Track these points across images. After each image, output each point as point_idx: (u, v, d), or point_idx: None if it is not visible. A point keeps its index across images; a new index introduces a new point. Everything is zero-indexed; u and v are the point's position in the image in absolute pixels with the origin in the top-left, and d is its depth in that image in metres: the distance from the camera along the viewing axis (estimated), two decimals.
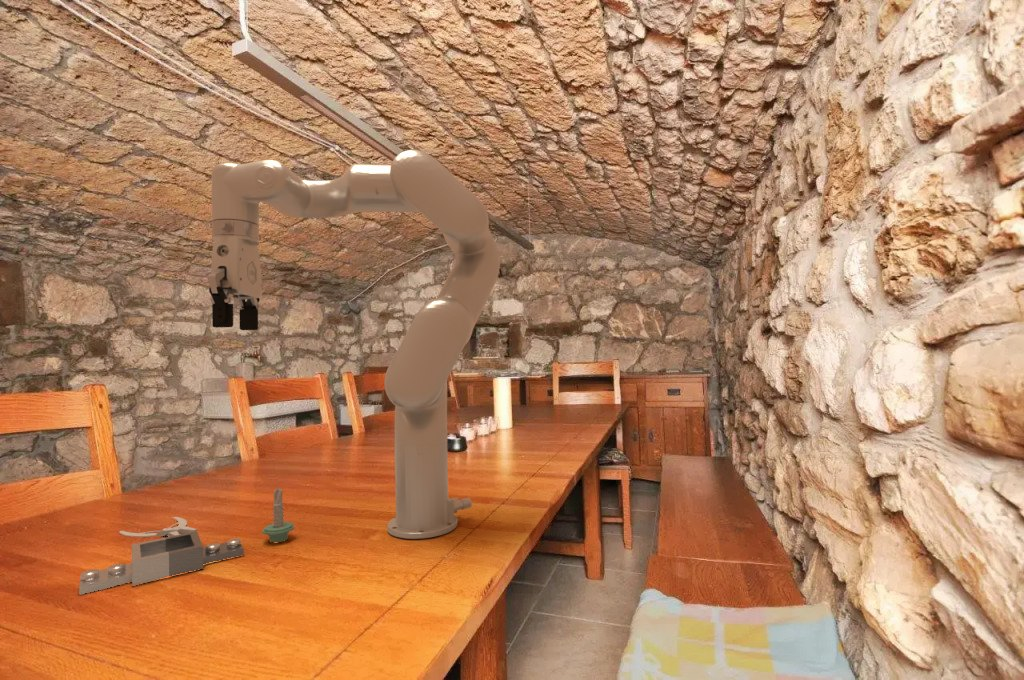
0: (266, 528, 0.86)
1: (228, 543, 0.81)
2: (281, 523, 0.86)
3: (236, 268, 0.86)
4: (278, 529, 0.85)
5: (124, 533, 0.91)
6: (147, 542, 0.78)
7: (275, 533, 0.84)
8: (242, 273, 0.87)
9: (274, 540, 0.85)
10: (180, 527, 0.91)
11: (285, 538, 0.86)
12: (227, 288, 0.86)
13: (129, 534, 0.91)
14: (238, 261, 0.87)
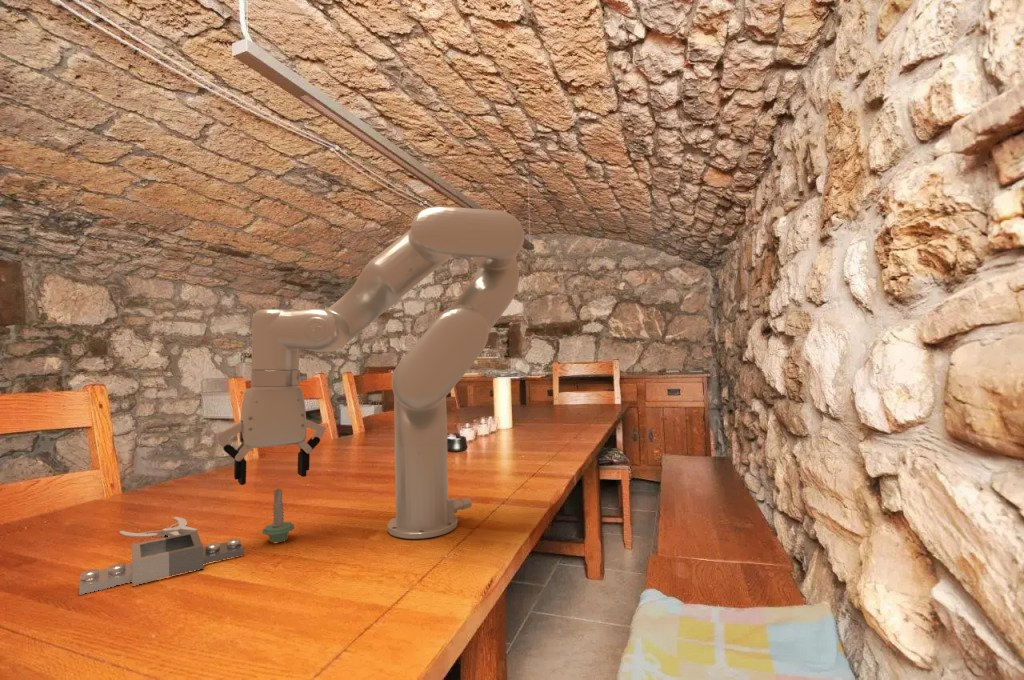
0: (266, 528, 0.86)
1: (228, 543, 0.81)
2: (281, 523, 0.86)
3: None
4: (278, 529, 0.85)
5: (124, 533, 0.91)
6: (147, 542, 0.78)
7: (275, 533, 0.84)
8: None
9: (274, 540, 0.85)
10: (180, 527, 0.91)
11: (285, 538, 0.86)
12: None
13: (129, 534, 0.91)
14: None
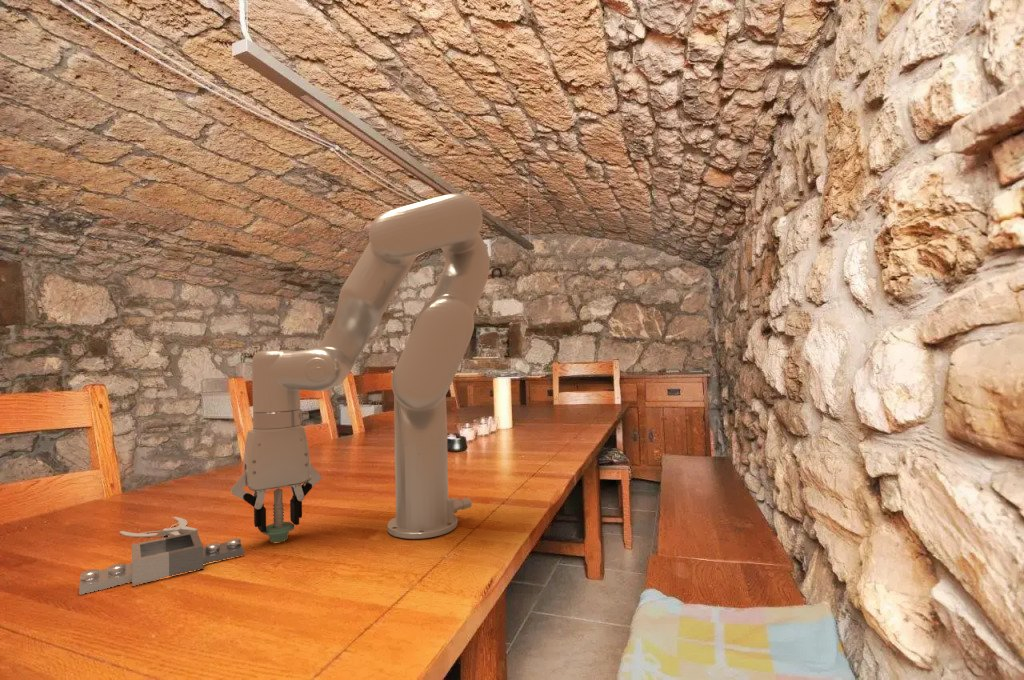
0: (266, 528, 0.86)
1: (228, 543, 0.81)
2: (281, 523, 0.86)
3: None
4: (278, 529, 0.85)
5: (124, 533, 0.91)
6: (147, 542, 0.78)
7: (275, 533, 0.84)
8: None
9: (274, 540, 0.85)
10: (181, 527, 0.91)
11: (285, 538, 0.86)
12: None
13: (129, 534, 0.91)
14: None
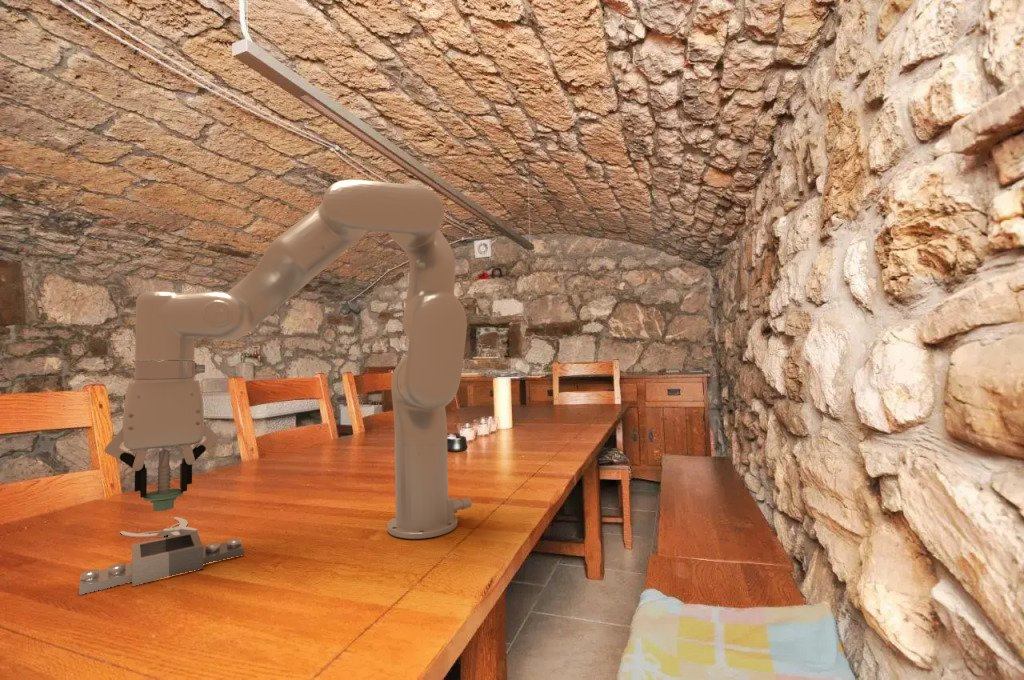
0: (148, 494, 0.75)
1: (228, 543, 0.81)
2: (166, 488, 0.76)
3: None
4: (161, 495, 0.75)
5: (125, 533, 0.91)
6: (147, 542, 0.78)
7: (156, 499, 0.74)
8: None
9: (156, 507, 0.75)
10: (181, 527, 0.91)
11: (170, 506, 0.76)
12: None
13: (130, 534, 0.91)
14: None
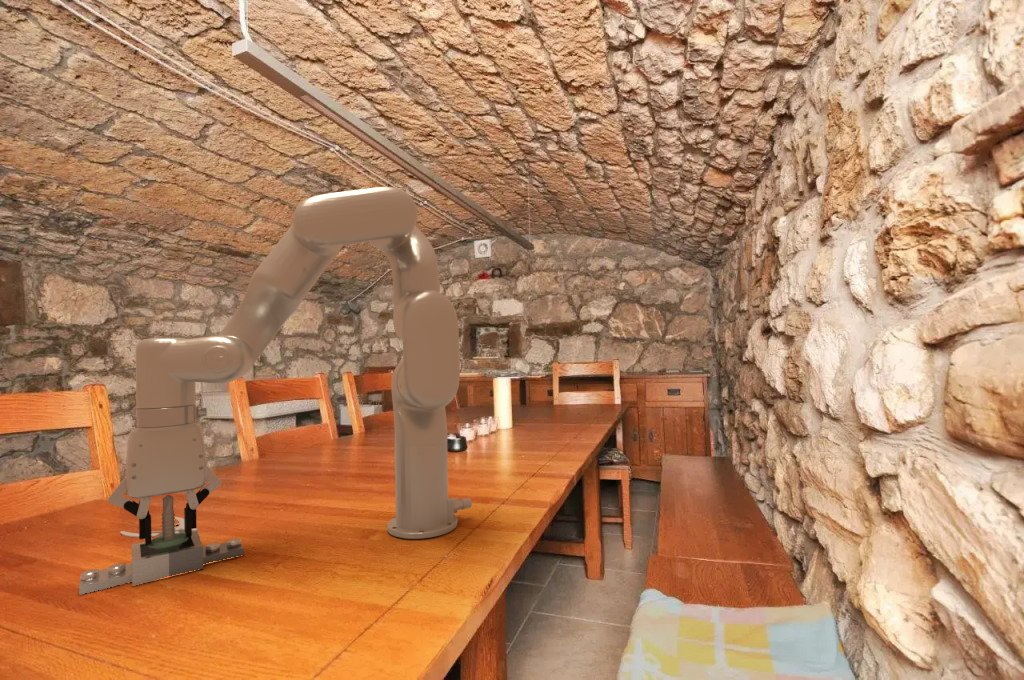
0: (153, 540, 0.75)
1: (228, 543, 0.81)
2: (171, 535, 0.76)
3: None
4: (165, 542, 0.75)
5: (125, 533, 0.91)
6: None
7: (161, 546, 0.74)
8: None
9: None
10: (181, 527, 0.91)
11: None
12: None
13: (130, 534, 0.91)
14: None
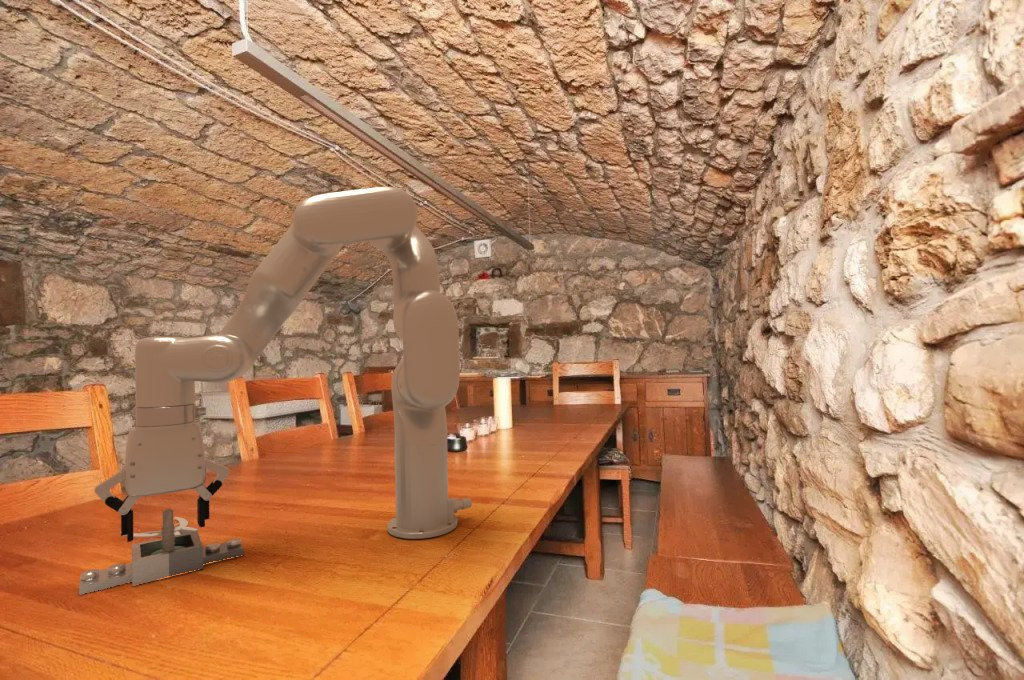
0: (153, 554, 0.75)
1: (228, 543, 0.81)
2: (171, 548, 0.76)
3: None
4: None
5: None
6: (147, 542, 0.78)
7: None
8: None
9: None
10: (181, 527, 0.91)
11: None
12: None
13: None
14: None
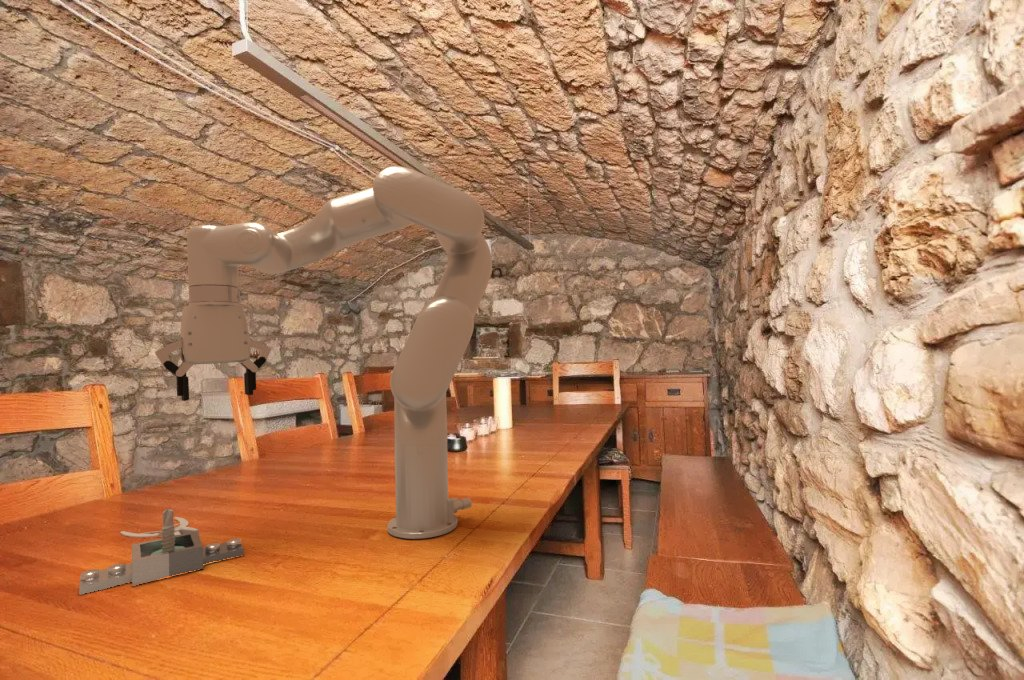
0: (153, 554, 0.75)
1: (228, 543, 0.81)
2: (171, 548, 0.76)
3: None
4: None
5: (125, 533, 0.91)
6: (147, 542, 0.78)
7: None
8: None
9: None
10: (182, 527, 0.91)
11: None
12: None
13: (130, 534, 0.91)
14: None
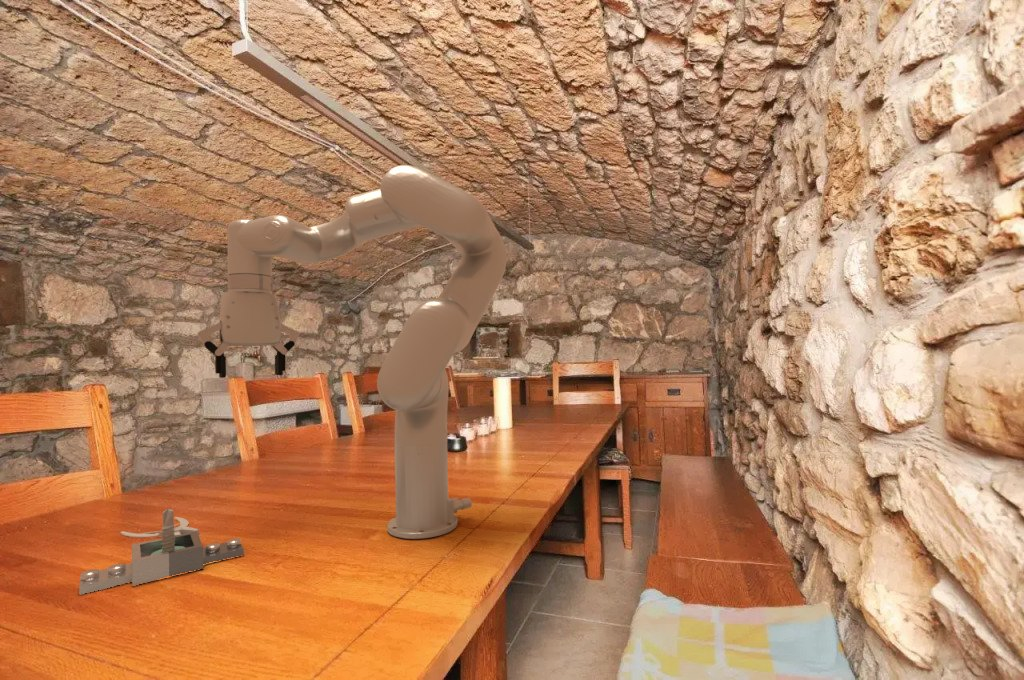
0: (153, 554, 0.75)
1: (228, 543, 0.81)
2: (171, 548, 0.76)
3: None
4: None
5: (125, 534, 0.91)
6: (147, 542, 0.78)
7: None
8: None
9: None
10: (182, 527, 0.91)
11: None
12: None
13: (130, 534, 0.91)
14: None
